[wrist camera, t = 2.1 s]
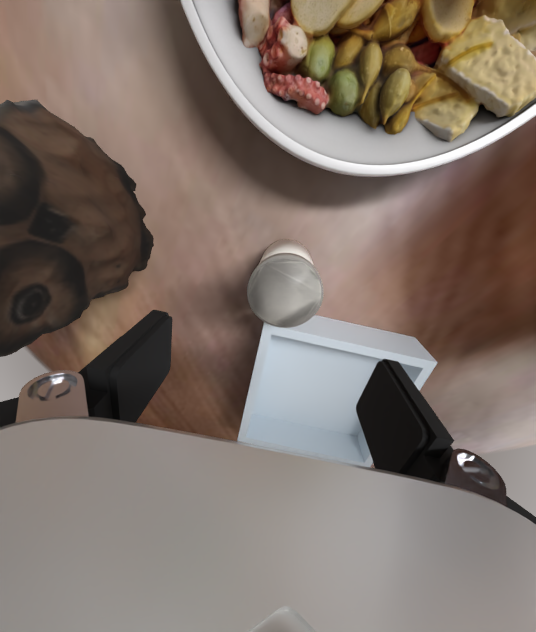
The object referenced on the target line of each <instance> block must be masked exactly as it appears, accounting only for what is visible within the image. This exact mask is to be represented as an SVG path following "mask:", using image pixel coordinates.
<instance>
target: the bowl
mask: <svg viewBox="0 0 536 632" xmlns="http://www.w3.org/2000/svg"><path fill="white" fill-rule="evenodd" d="M180 1H181V4H182V7H183V10H184V12H185V15H186V17H187V19H188V22H189V24H190V27H191V29H192V31H193V33H194V35H195V38H196V40H197V42H198V44H199V46H200V48H201V50H202V52H203V54H204V56H205V57H206V59H207V61H208V63H209V65H210V66H211V68H212V70H213V71H214V73H215V75H216V76H217V78H218V80H219V81H220V83H221V85H222V86H223V87H224V89H225V90H226V92H227V93H228V95H229V96H230V98H231V99H232V100H233V101H234V103H235V104H236V105H237V107H238V108H239V109H240V110H241V112H242V113H243V114H244V115H245V116H246V117H247V118H248V119H249V121H250V122H251V123H252V124H253V125H254V126H255V127H256V128H257V129H258V130H259V131H260V132H262V133H263V134H264V135H265V136H266V137H267V138H268V139H270V140H271V141H272V142H273V143H275V144H276V145H278V146H279V147H280V148H282V149H283V150H285V151H286V152H288V153H289V154H291V155H293V156H295V157H296V158H298V159H300V160H302V161H304V162H306V163H309V164H311V165H313V166H316V167H319V168H321V169H324V170H328V171H331V172H335V173H340V174H345V175H352V176H361V177H385V176H395V175H403V174H409V173H414V172H419V171H423V170H427V169H431V168H435V167H438V166H441V165H444V164H447V163H450V162H453V161H455V160H458V159H460V158H463V157H465V156H467V155H470V154H472V153H474V152H476V151H478V150H480V149H482V148H484V147H486V146H488V145H490V144H492V143H494V142H495V141H497V140H499V139H501V138H502V137H504V136H506V135H507V134H509V133H511V132H512V131H514V130H515V129H517V128H518V127H520V126H522V125H523V124H525V123H526V122H527V121H529V120H530V119H532V118H533V117H534V116H536V0H180Z"/></svg>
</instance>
